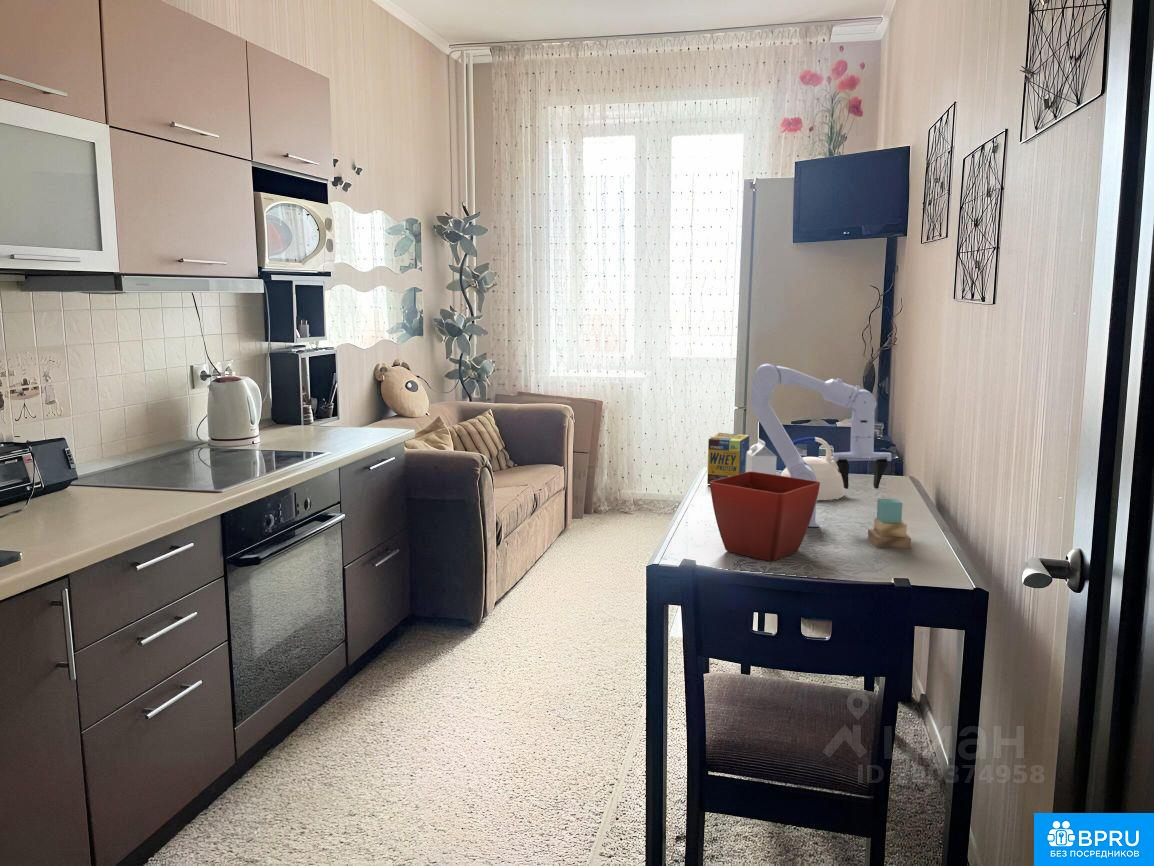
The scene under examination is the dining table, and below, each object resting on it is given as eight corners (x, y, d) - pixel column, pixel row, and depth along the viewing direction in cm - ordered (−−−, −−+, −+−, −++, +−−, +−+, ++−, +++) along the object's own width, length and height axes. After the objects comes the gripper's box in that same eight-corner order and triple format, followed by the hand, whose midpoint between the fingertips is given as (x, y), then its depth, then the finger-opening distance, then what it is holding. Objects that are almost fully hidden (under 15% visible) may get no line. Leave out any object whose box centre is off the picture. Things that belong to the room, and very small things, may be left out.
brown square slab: (876, 549, 204) (876, 537, 204) (867, 540, 212) (868, 528, 212) (910, 550, 204) (911, 538, 203) (900, 541, 212) (901, 529, 211)
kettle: (854, 501, 254) (857, 441, 252) (784, 501, 255) (786, 441, 252) (835, 487, 274) (837, 432, 272) (770, 487, 275) (772, 432, 272)
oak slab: (880, 536, 205) (881, 523, 205) (873, 529, 211) (874, 518, 210) (906, 536, 205) (906, 524, 204) (898, 530, 210) (899, 518, 210)
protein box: (706, 486, 276) (707, 438, 274) (718, 477, 290) (719, 432, 288) (738, 488, 272) (740, 440, 270) (748, 480, 286) (750, 434, 284)
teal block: (882, 523, 206) (883, 502, 205) (876, 518, 210) (877, 498, 209) (901, 523, 205) (902, 502, 205) (895, 518, 210) (896, 498, 209)
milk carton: (768, 502, 253) (770, 438, 250) (774, 507, 246) (777, 442, 243) (744, 502, 252) (746, 438, 250) (750, 507, 245) (752, 442, 243)
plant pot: (819, 551, 201) (822, 481, 198) (779, 568, 187) (782, 493, 184) (748, 536, 213) (750, 470, 211) (705, 552, 199) (707, 481, 197)
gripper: (837, 438, 217) (836, 491, 219) (895, 438, 216) (893, 490, 217) (831, 435, 224) (830, 485, 226) (887, 434, 223) (886, 485, 224)
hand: (860, 488), depth 222 cm, fingers open, 7 cm apart
